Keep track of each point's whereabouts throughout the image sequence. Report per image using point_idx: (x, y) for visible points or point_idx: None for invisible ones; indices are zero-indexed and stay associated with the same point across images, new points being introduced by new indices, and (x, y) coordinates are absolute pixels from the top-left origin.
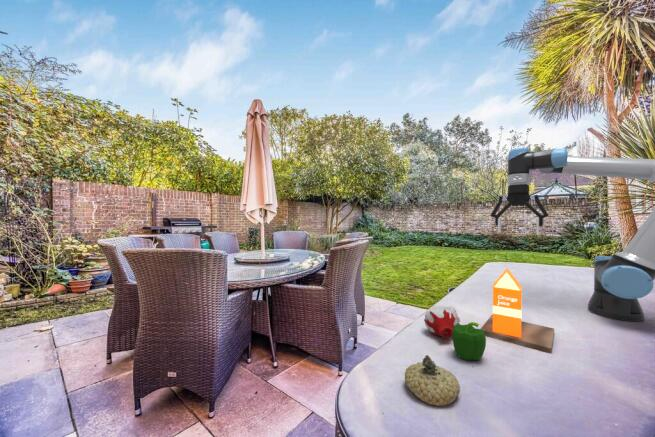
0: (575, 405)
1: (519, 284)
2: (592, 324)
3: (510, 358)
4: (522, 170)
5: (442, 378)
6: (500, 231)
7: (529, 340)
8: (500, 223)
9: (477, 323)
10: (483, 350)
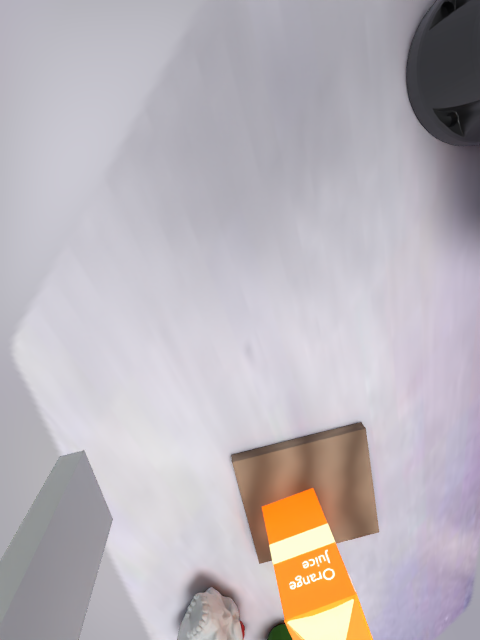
0: (415, 621)
1: (357, 611)
2: (422, 269)
3: None
4: None
5: None
6: (93, 496)
7: (344, 532)
8: (48, 636)
9: None
10: None
